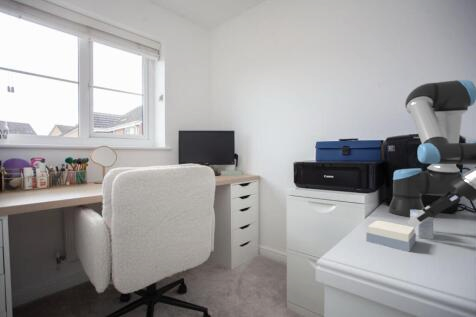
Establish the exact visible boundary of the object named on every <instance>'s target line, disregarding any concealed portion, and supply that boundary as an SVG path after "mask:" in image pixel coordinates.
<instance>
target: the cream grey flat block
mask: <svg viewBox="0 0 476 317" xmlns="http://www.w3.org/2000/svg"><path fill="white" fill-rule="evenodd" d="M365 237H366V239H365V241H366V242H369V243H374V244H378V245H381V246H386V247H389V248H393V249H397V250H401V251H405V252H410V251H411V249H412V248H413V246H414V245H415V244H416V242H417V241H416V237H417V236H416V233H415V227H411V226H410V225H404V224H400V223H395V222H389V221H383V220H375V221H374V222H372V223H370V224H368V225H367V232H366V236H365Z"/></svg>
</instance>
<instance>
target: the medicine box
mask: <svg viewBox="0 0 476 317" xmlns="http://www.w3.org/2000/svg"><path fill="white" fill-rule="evenodd" d="M421 212H423V210H410V217H409V220H410V219H411V218H413V217H414V216H416V215H418V214H419V213H421ZM411 227H412V226H411ZM415 233H416V237H417V238H419V239H426V240H434V217H431V218H430V219H428V220H426V221H425V222H423V223H421V224H419V225H418V226H416V227H415Z"/></svg>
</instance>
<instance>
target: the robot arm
mask: <svg viewBox="0 0 476 317" xmlns="http://www.w3.org/2000/svg"><path fill="white" fill-rule="evenodd" d="M475 103H476V85H475V84H474V82H473V81H471V80H470V79H459V80H458V79H456V80H449V81H440V82H437V81H436V82H429V83H427V82H426V83H423V84H420V85H419V86H417V87H415V88H414V89H413V90H412V91H411V92H409V94H408V95H407V98H406V99H405V102H404V104H405V105H404V106H405V109H406V112H407V113H408V114H410V115H411V118H412V120H413V123H414V126H415V128H416V131H417V134H418V138H419V139H420V142H421V144H419V146H418V147H417V154H416V155H417V159H418V161H419V162H420V163H421V164H427V165H428V164H430V165H429V166H427V167H426V168H427V169H426V170H425V171H424V170H422V168H418V167H416V168H402V169H396V170H394V172H393V177H392V180H393V181H392V182H393V183H392V199H391V202H390V204H389V206H388V212H389V213H391V214H394V215H398V216H402V217H409V219H408V220H407V221H406V222H407V224H408V226H412V227H416V226H418V225H419V224H421V223H423V222H425V221H426V220H428V219H430V218H431V217H433V218H434V217H435V216H437V215H438V214H440V213H441V212H444V210H446V209H447V208H450V207H453V206H454V205H456V204H458V203H460V202H461V199H462V198H465V199H466V200H468V201H470V202H473V201H475V200H476V166H475V167H473V168H471V169H469V170H468V171H466V172H465V173H462V172H461V169H459V167H457V165H469V166H470V165H471V166H472V165H476V140H473V141H471V142H465V143H463V142H462V143H460V134H461V128H462V119H463V115H464V114H465V113H466V112H468V108H469V107H471V106H473V105H475ZM422 195H426V196H428V195H430V196H440V197H439V199H437V200H434V201H433V202H432V203H430V204H429V205H426V207H425V206H424V204H423V200H422ZM410 210H423V212H421V213H419V214H418V215H416V216H414V217H413V218H411V219H410Z"/></svg>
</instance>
